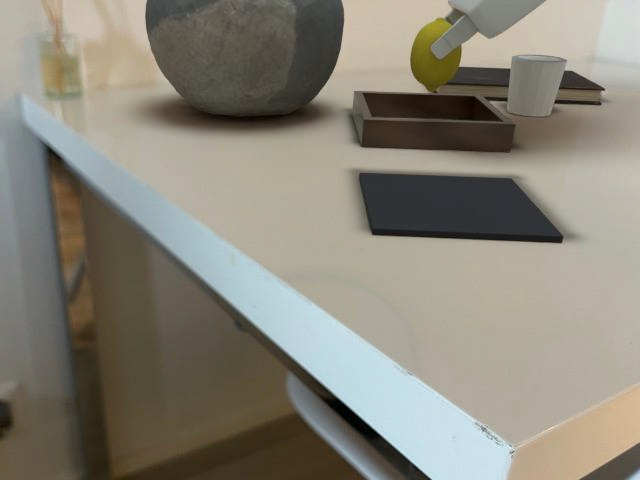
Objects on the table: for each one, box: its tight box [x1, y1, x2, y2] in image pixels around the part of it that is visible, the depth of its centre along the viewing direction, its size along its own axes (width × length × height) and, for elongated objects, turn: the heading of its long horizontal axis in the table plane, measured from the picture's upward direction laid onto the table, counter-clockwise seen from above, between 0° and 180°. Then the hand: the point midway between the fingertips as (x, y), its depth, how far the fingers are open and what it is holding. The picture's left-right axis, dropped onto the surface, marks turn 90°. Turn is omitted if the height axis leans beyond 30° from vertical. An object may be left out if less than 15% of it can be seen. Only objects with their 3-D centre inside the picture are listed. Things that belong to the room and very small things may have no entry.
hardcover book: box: [433, 66, 606, 106], centre depth 102 cm, size 16×23×2 cm
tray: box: [351, 90, 517, 153], centre depth 78 cm, size 16×16×3 cm
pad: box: [358, 172, 564, 243], centre depth 55 cm, size 14×14×1 cm
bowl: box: [144, 0, 345, 118], centre depth 83 cm, size 24×24×15 cm
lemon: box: [409, 16, 463, 93], centre depth 74 cm, size 6×6×8 cm
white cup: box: [506, 54, 568, 118], centre depth 88 cm, size 7×7×7 cm
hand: (430, 49), depth 74 cm, fingers closed on lemon, 5 cm apart
